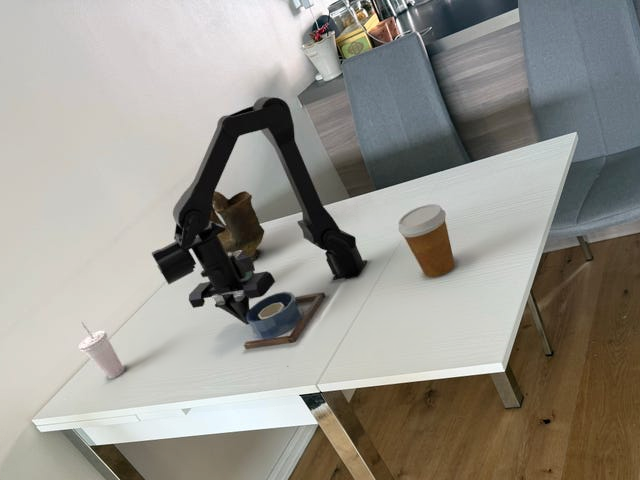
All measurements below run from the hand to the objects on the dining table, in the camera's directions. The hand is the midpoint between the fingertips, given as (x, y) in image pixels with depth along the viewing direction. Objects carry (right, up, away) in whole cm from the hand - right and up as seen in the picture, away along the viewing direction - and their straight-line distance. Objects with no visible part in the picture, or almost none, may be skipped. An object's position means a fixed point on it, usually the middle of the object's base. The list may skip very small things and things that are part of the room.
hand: (249, 323), depth 145 cm
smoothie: (-31, -11, +9) cm, 34 cm away
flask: (-3, +9, +19) cm, 21 cm away
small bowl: (+7, 0, -3) cm, 7 cm away
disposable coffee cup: (+40, +10, -9) cm, 42 cm away
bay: (+9, 0, -3) cm, 9 cm away
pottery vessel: (-9, +19, +39) cm, 44 cm away
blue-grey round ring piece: (+7, -1, -3) cm, 7 cm away
